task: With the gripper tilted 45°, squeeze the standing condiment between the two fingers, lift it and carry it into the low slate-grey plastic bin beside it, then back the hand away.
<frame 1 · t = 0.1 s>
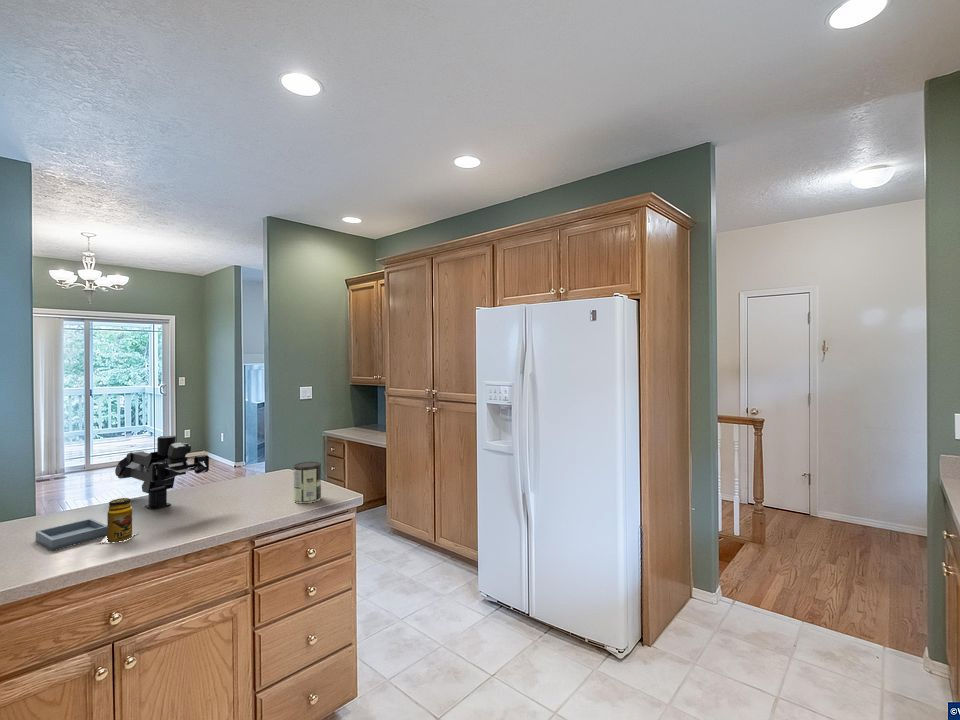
hand: (192, 470, 161), 17 cm above the table, tool horizontal, fingers open, 9 cm apart
bin: (72, 538, 142), on the table
condiment: (116, 539, 142), on the table
coffee can: (307, 500, 182), on the table
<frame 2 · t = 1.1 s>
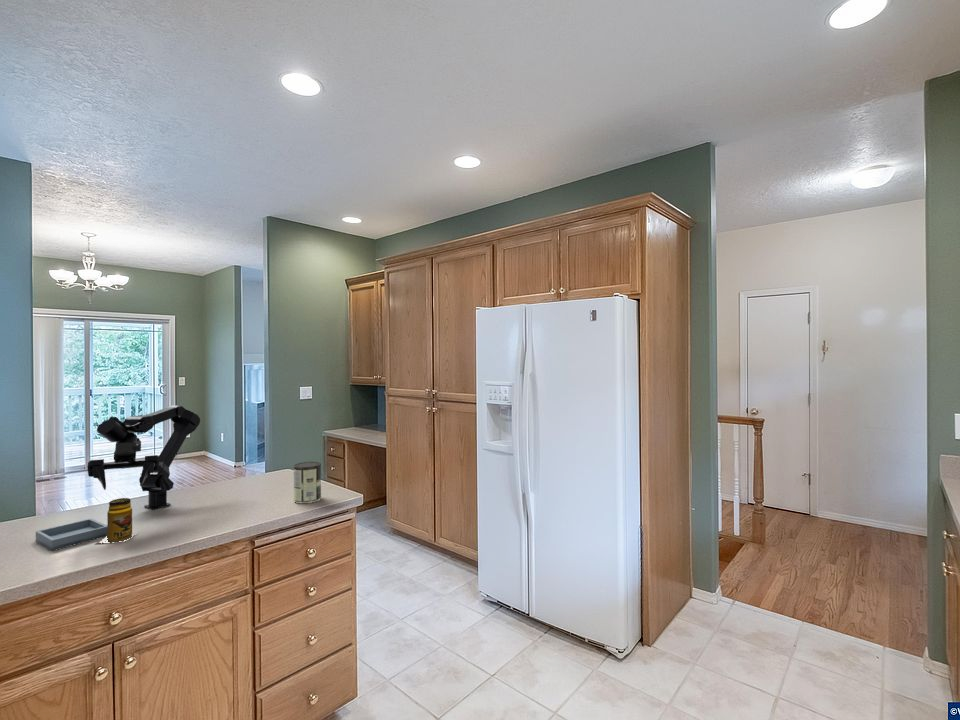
hand: (123, 487, 149), 14 cm above the table, tool tilted 45°, fingers open, 9 cm apart
nothing on the table moved.
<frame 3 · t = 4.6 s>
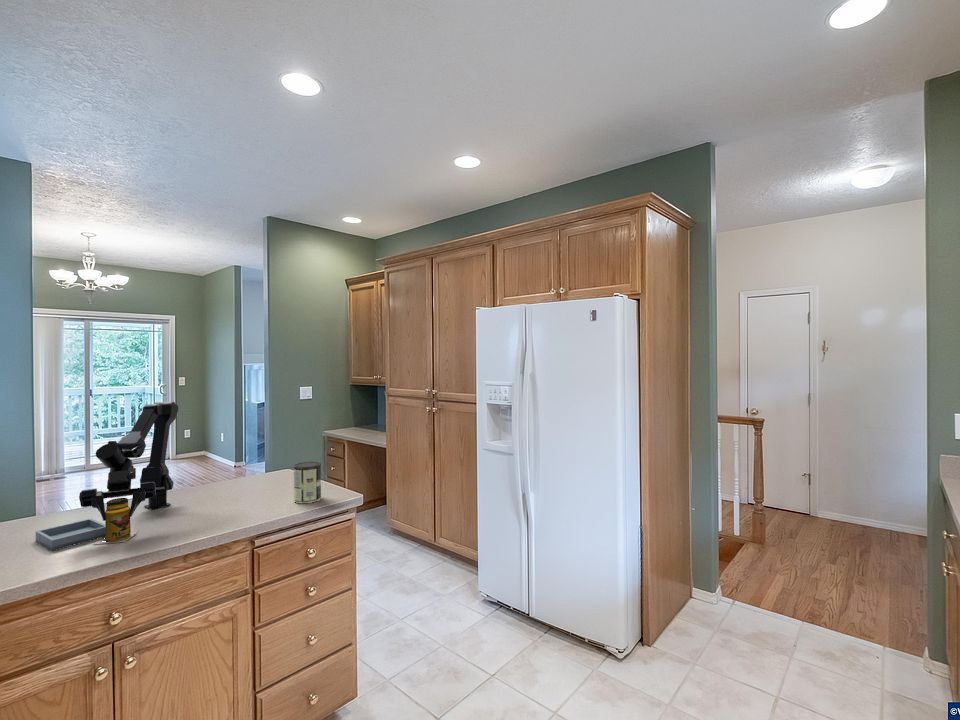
hand: (117, 518, 141), 7 cm above the table, tool tilted 45°, fingers closed on condiment, 6 cm apart
condiment: (115, 539, 142), on the table, touching bin, gripper
everything else where it was.
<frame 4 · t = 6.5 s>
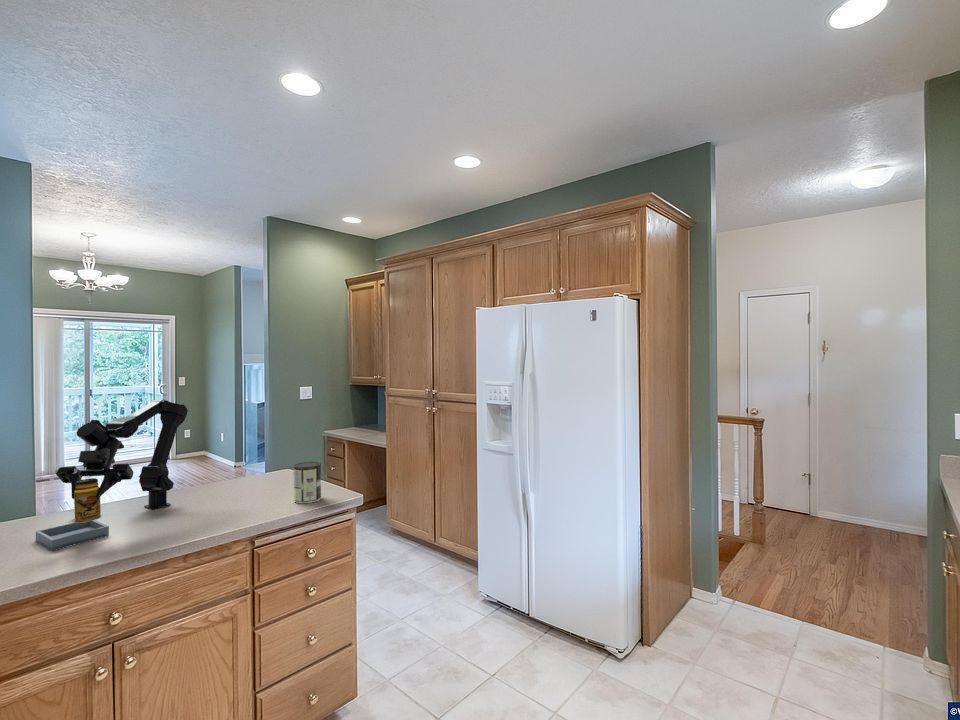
hand: (85, 497, 141), 13 cm above the table, tool tilted 45°, fingers closed on condiment, 6 cm apart
condiment: (85, 519, 141), point 6 cm above the table, touching gripper
everything else where it was.
when the fingers open (9 cm above the table, at t = 8.5 s): condiment drops 1 cm, resting on bin.
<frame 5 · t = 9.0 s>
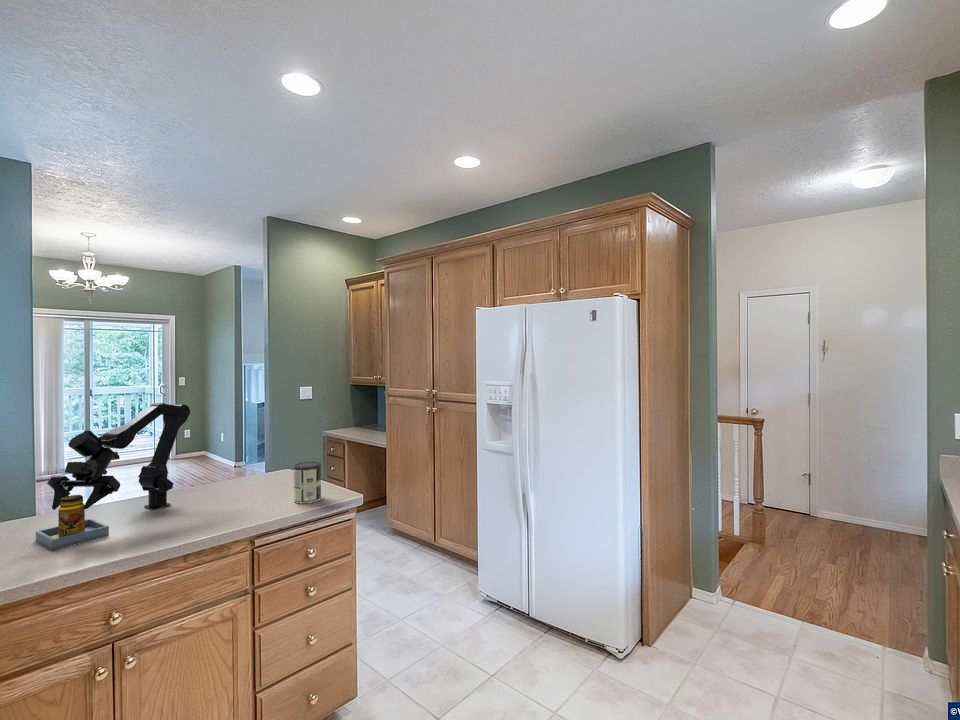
hand: (69, 508, 141), 10 cm above the table, tool tilted 45°, fingers open, 9 cm apart
condiment: (70, 536, 142), point 1 cm above the table, touching bin
everything else where it was.
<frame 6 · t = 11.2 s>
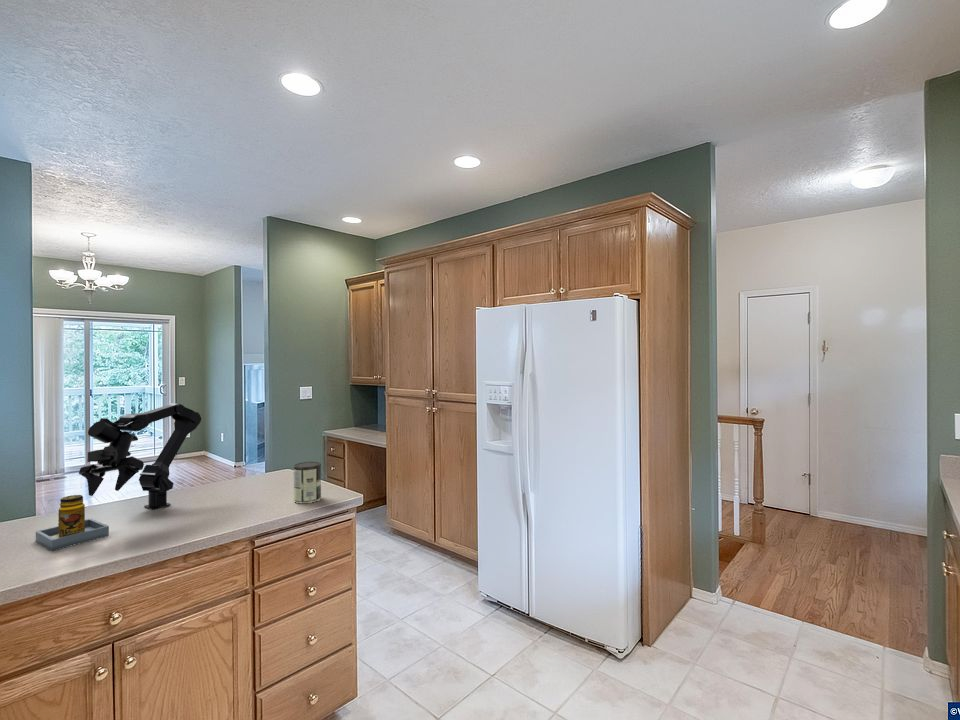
hand: (103, 493, 150), 12 cm above the table, tool tilted 35°, fingers open, 9 cm apart
nothing on the table moved.
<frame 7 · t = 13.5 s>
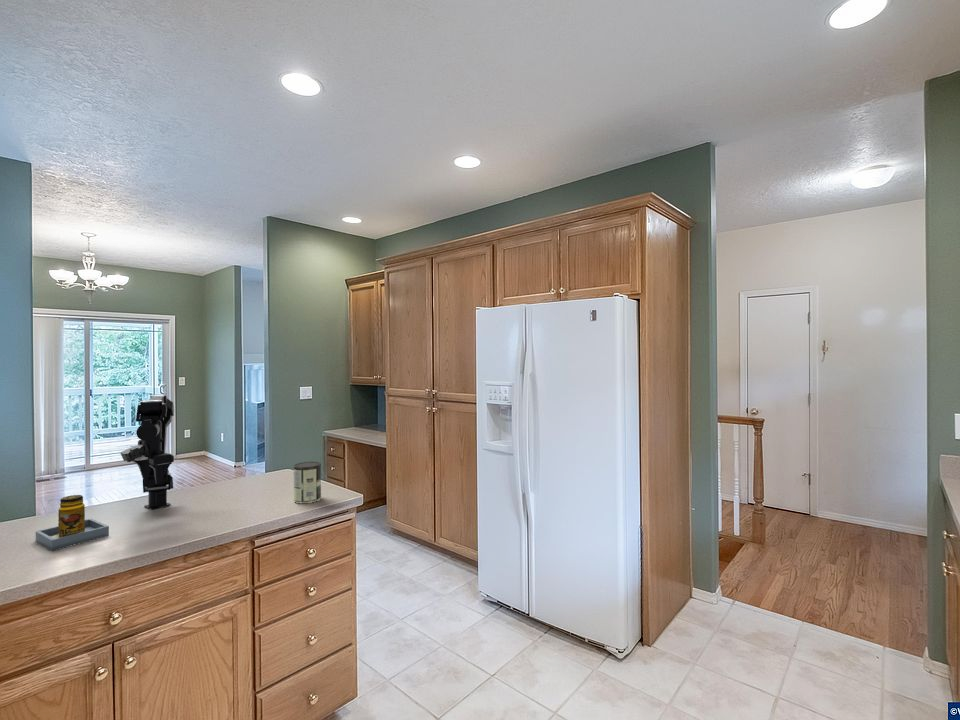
hand: (151, 481, 160), 13 cm above the table, tool pointing down, fingers open, 9 cm apart
nothing on the table moved.
at the end: condiment inside the target area on the bin (0.6 cm from its centre), point 0.8 cm above the bin's base; condiment tilted 0°; the gripper is holding nothing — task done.
